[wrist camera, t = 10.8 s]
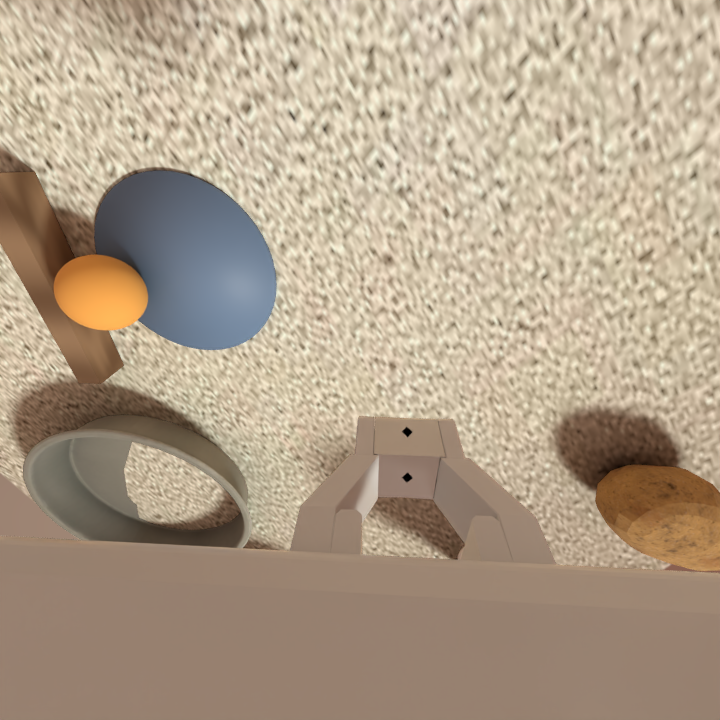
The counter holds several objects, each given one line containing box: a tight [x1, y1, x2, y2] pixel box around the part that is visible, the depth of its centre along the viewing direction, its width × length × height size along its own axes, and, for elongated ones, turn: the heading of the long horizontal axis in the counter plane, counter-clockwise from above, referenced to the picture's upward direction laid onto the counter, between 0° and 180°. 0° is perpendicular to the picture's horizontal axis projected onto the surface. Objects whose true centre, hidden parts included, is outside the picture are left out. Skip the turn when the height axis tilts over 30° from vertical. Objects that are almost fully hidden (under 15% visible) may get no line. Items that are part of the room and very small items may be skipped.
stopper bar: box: [0, 172, 124, 384], centre depth 26 cm, size 16×2×3 cm, turn 1°
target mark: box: [94, 170, 276, 350], centre depth 26 cm, size 14×14×1 cm
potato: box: [595, 465, 720, 571], centre depth 32 cm, size 10×14×8 cm
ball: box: [54, 255, 148, 330], centre depth 24 cm, size 6×6×6 cm
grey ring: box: [23, 415, 252, 548], centre depth 39 cm, size 25×25×4 cm
